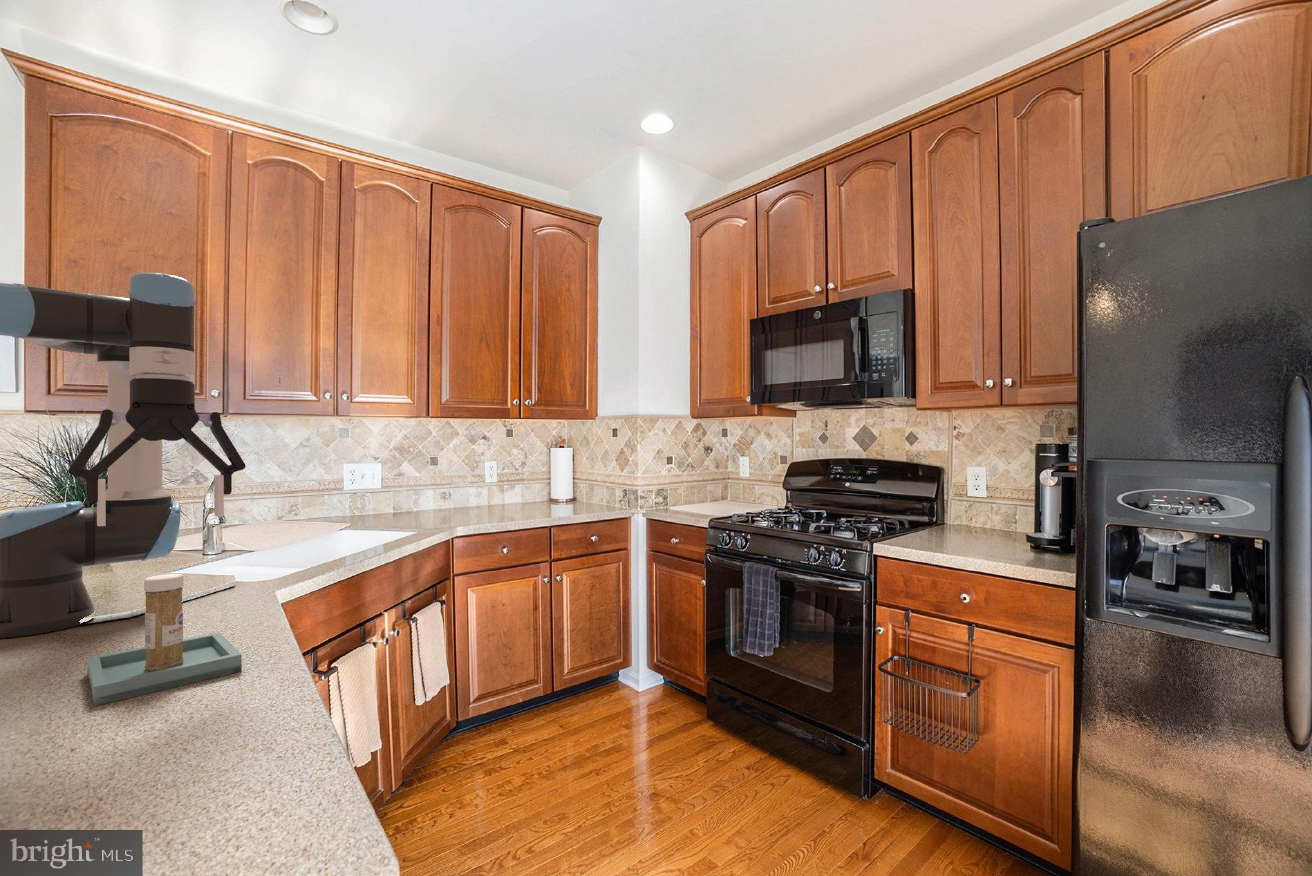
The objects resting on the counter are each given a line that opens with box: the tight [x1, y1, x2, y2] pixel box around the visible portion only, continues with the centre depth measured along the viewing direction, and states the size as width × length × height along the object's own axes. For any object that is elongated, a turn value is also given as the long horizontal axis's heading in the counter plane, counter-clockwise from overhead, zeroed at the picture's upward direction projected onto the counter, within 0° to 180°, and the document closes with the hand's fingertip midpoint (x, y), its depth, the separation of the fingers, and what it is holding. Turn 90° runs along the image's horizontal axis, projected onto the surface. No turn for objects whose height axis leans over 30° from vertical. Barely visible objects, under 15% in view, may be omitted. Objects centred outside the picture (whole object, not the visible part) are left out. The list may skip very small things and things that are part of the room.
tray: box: [87, 632, 243, 707], centre depth 88 cm, size 16×16×2 cm
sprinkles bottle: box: [143, 573, 185, 671], centre depth 88 cm, size 5×5×13 cm
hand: (163, 520), depth 88 cm, fingers open, 13 cm apart
